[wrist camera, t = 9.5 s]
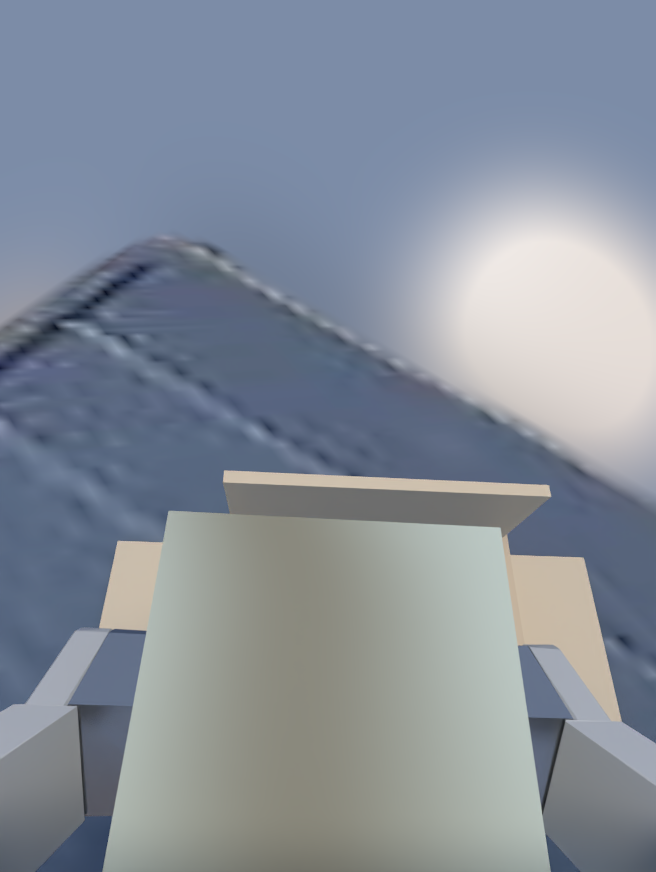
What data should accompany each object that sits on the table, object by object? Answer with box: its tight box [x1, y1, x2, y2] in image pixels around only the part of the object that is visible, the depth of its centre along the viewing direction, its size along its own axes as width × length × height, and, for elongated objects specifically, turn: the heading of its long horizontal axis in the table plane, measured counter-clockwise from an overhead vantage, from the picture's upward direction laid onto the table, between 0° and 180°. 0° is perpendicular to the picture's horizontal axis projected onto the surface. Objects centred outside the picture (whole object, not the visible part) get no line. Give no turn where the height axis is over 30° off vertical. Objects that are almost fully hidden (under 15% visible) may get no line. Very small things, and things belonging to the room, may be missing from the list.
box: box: [102, 511, 551, 872], centre depth 9 cm, size 4×4×7 cm
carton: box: [99, 471, 622, 722], centre depth 21 cm, size 26×15×10 cm, turn 89°
